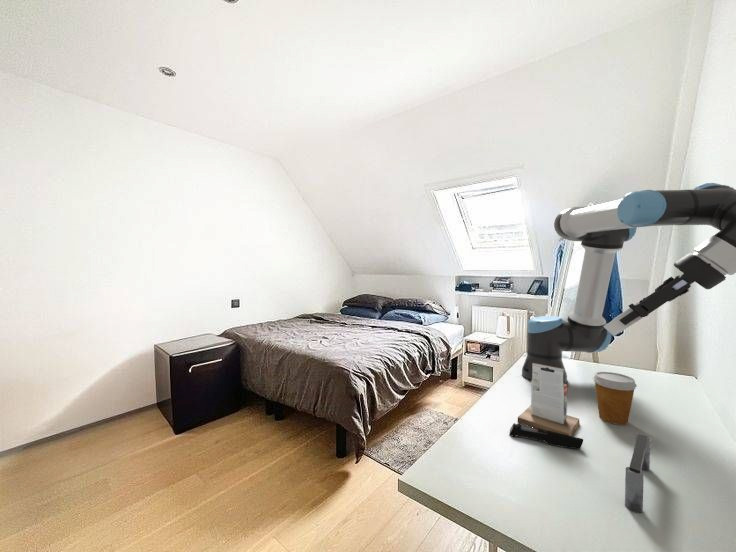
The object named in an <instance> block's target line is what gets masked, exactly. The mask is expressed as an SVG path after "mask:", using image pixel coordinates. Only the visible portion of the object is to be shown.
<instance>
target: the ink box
mask: <svg viewBox="0 0 736 552" xmlns="http://www.w3.org/2000/svg"><path fill="white" fill-rule="evenodd" d="M532 364H533V365H532V380H530V381H531V382H530V383H531V384H530V386H531V387H530V388H531V390H530V391H531V395H530V400H531V401H530V404H531V405H530V406H531V415H534V416H537V417H540V418H543V419H546V420H550V421H553V422H556V423H560V424H564V423H565V421H566V419H567V413H568V411H567V410H568V408H567V407H568V405H567V404H568V401H567V400H568V395H567V394H568V384H567V383H563V382H564V381H563V380H564V369H562V368H557V367H552V366H547V365H541V364H536V363H532ZM541 368H549V369H552V370H554V371H555V372H548V371H544V370H541Z"/></svg>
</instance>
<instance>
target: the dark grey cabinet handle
mask: <svg viewBox="0 0 736 552" xmlns="http://www.w3.org/2000/svg"><path fill="white" fill-rule="evenodd" d="M650 460H651V437H649V436H648V435H646V434H644V433H635V435H634V449H633V452H632V456H631V460H630V464H629V466H627V467H625V475H624V476H625V481H624V482H625V483H624V485H625V486H624V493H625V494H624V506H625V507H626V508H627V510H629V511H631V512H633V513H636V514H642V513H644V479H645V478H644V476H645V474H644V473H643V471H645V472H647V471H650V469H651V467H650V466H651V461H650Z"/></svg>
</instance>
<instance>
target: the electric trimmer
mask: <svg viewBox="0 0 736 552" xmlns="http://www.w3.org/2000/svg"><path fill="white" fill-rule="evenodd" d="M509 436H511V437H513V438H515V437H520V438H525V439H528V440H529V439H530V440H533V441H534V440H535V441H540V442H544V443H546V444H548V445H549V446H556V447H563V448H569V449H570V448H572V449H579V450H580V449H581V448H582V446H583V444H584V438H581V437H577V436H573V435H572V436H569V435H564V434H560V433H556V432H552V431H546V430H542V429H539V428H538V429H537V428H532V427H529V426H526V425H523V424H520V423H518V422H517V423H513V424H512V425H511V427H510V429H509Z"/></svg>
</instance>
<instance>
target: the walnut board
mask: <svg viewBox="0 0 736 552" xmlns="http://www.w3.org/2000/svg"><path fill="white" fill-rule="evenodd" d="M518 423H520V424H521V425H523V426H528V427H533V428H537V429H538V428H539V429H542V430H546V431H552V432H556V433H560V434H564V435H569V436H573V434H574V433H575V431H576V430H577V428H578V427H579V425H580V418H578V417H575V416H572V415H567V419H566V421H565V423H564V424H560V423H556V422H553V421H550V420H546V419H543V418H540V417H537V416H534V415H531V405H529V406H528V407H527V408H526V409H525V410H524V411H523V412H521V413H520V415H518V417H517V424H518Z"/></svg>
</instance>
